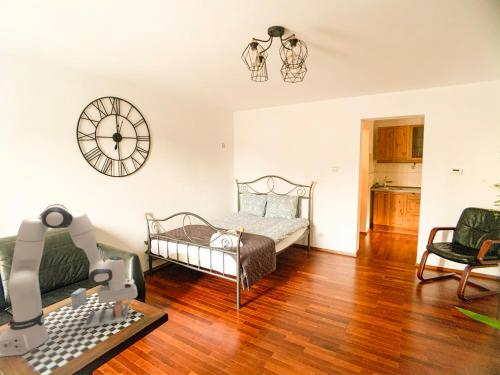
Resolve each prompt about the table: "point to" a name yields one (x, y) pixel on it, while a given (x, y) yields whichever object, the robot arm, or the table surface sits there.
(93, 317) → the rack
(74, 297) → the medicine box
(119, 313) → the block
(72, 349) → the table surface
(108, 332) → the table surface
